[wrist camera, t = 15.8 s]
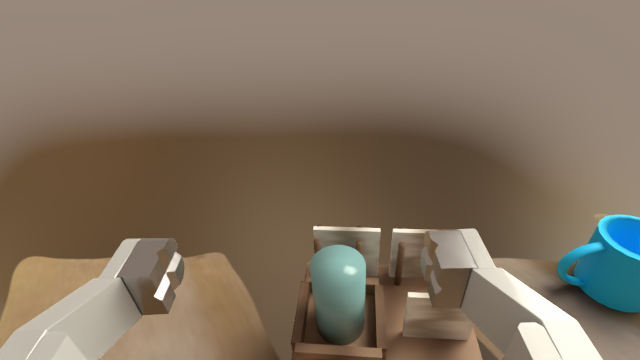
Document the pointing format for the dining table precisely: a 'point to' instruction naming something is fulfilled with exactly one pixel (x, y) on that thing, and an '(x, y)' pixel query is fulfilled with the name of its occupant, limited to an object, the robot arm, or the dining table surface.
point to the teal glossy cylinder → (339, 293)
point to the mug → (608, 264)
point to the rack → (386, 306)
